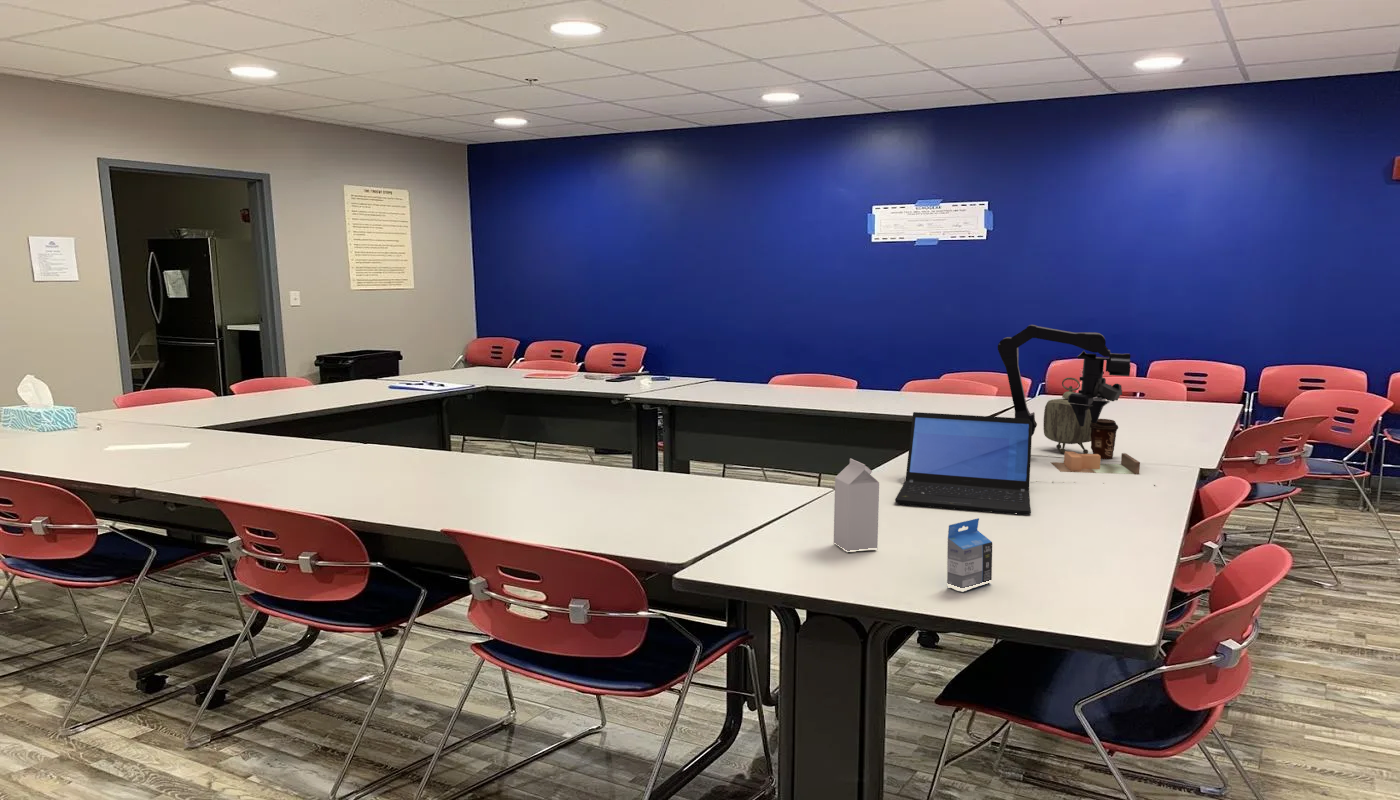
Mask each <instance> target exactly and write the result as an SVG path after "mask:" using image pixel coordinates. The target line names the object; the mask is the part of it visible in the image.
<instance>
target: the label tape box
mask: <svg viewBox="0 0 1400 800" xmlns="http://www.w3.org/2000/svg"><path fill="white" fill-rule="evenodd" d="M979 520H980V518H978V517H977V518H974V519H969V520H965V521H960V522H957V523H953V524H949V525H948V531H947V553H946V554H947V556H946V557H947V559H946V560H947V561H946V562H947V563H946V564H947V566H946V569H947V571H946V572H947V573H946V578H947V580H946V581H947V582H946V583H948V584H951V585H954V586H957V587H960V588H965V587H969V586H973V585H976V584H980V583H982V582H986V581H989V580H992V578H993V577H992V576H993V572H992V571H993V541H992V540H990V539H989V538H987V536H986V535H984V534H983V533H982V532H980V531H979V530H978V528H979ZM963 527H965V528H967V529H964V530H960V529H962V528H963ZM959 530H960V531H959ZM992 581H993V580H992Z"/></svg>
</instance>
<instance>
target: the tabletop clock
mask: <svg viewBox="0 0 1400 800" xmlns="http://www.w3.org/2000/svg"><path fill="white" fill-rule="evenodd" d="M1069 380H1071V381H1075V382H1076V383H1077V384H1078V385H1077V387H1076V388H1073V386H1072V385H1070V386H1069V387H1067V386H1065V385H1064V384H1065V382H1066V381H1069ZM1061 385H1062V388H1064V390H1066V391H1065V392H1064V393H1063V394H1062V396H1061V398H1056V399H1049V400H1047V402H1046V403H1045V406H1044V412H1043V435H1044V437H1045V438H1047V439H1048V440H1050V441H1052V442H1055V443H1058V444H1056V445H1055V447H1056V449H1058V450H1059V452H1060V454H1064V452H1065V451H1066V449H1065V447H1066V445H1075V444H1077V445H1079V446H1080V448H1081V449H1082V454H1089V450H1088V449H1086V448H1085V446H1084V445H1083V444H1086V443H1089V442H1090V443H1091V435H1090V434H1091V428H1090V424H1091V420H1092V419H1091V414H1090V409H1088V411H1087V415H1086V420H1085V424H1084V426H1080V425H1079V423H1078V420H1077V417H1076V415H1075V413H1074V411H1073V408H1072V406H1071V405H1070V403H1069V402H1068V396H1069V395H1070V394H1072V393H1076V392H1075V391H1079V390H1080V388H1081V384H1080V380H1078V379H1077V378H1074V377H1065V378H1064V379H1062V382H1061ZM1061 444H1062V445H1061Z"/></svg>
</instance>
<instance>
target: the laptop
mask: <svg viewBox="0 0 1400 800" xmlns="http://www.w3.org/2000/svg"><path fill="white" fill-rule="evenodd" d="M1032 436H1033V435H1032V422H1031V421H1030V420H1029V419H1024V418H1015V417H1006V416H1005V417H1004V416H989V415H973V414H955V413H954V414H951V413H935V412H918V411H915V412H913V413H912V419H911V427H910V437H909V447H908V455H907V465H906V472H905V473H906V474H905V481H904V482H903V484H902V486H901V488H900V490H899V492H898V493H897V496H896V497H895V499H894V501H895V504H898V505H900V504H904V505H903V506H909V505H917V506H916V507H926V506H931V507H930V508H936V507H942V508H941V509H947V508H955V509H954V510H959V509H967V510H966V511H970V510H979V511H978V512H982V511H992V512H991V513H994V512H1004V513H1003V514H1006V513H1017V514H1016V515H1018V514H1028V515H1031V513H1032V509H1031V498H1030V497H1031V495H1030V479H1031V478H1030V477H1031V457H1032V441H1033V440H1032V438H1033V437H1032Z"/></svg>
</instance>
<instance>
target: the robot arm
mask: <svg viewBox="0 0 1400 800" xmlns="http://www.w3.org/2000/svg"><path fill="white" fill-rule="evenodd" d="M1032 339H1038V340H1045V341H1050V342H1056V343H1062V344H1067V345H1072V346H1074V347H1077V348H1079V349H1083V350H1082V351H1081V353H1080V354H1079V355H1077V356H1076V357H1077V359H1078V360H1080V359H1082V360H1083V362H1082V363H1083V366H1082V376H1079V381H1081V385H1080V389H1078V390H1077V391H1078V392H1075V393H1072V394H1070V395H1069V396H1068V402H1069V403H1070V405H1071V406H1072V408H1073V411H1074V413H1075V415H1076V417H1077V420H1078V423H1079V425H1080V426H1084V424H1085V420H1086V415H1087V411H1088V409H1090V414H1091V419H1092V422H1093V423H1097V421H1098V419H1100V418H1099V417H1100V415H1101V413H1102V411H1103V409H1104V406H1106V405H1108V404H1110V403H1111V402H1115V401H1116V402H1117V401H1118V400H1119V398H1120V396H1122V395H1123V388H1122V384H1119V383H1114V384H1113V385H1112V384H1109V383H1106V380H1107V379H1106V378H1105V377H1104V366H1105V372H1106V373H1108V375H1109V376H1115V377H1116V376H1117V377H1130V373H1131V354H1130V353H1112V352H1111V349H1108V347H1107V345H1106V343H1107V341H1106V338H1105V336H1104V335H1103V334H1101V333H1100V332H1094V331H1093V332H1085V331H1084V332H1072V331H1069V330H1068V331H1067V330H1061V329H1056V328H1051V327H1046V326H1040V325H1039V326H1038V325H1036V324H1029V325H1027V327H1025V328H1024V329H1023V330H1021V331H1019V332H1018V333H1016V334H1015V335H1013V336H1012V337H1011V336H1007V337H1004V338H1002V339H1001V340H1000V341H999V342H998V344H997V352H998V354H999V356H1000V359H1001V360H1002V363H1003V365H1004V367H1005V371H1006V374H1007V381H1008V384H1009V391H1010V394H1011V399H1012V405H1013V408H1014V418H1024V419H1029V420H1030V421H1031V422H1032V436H1033V435H1034V433H1035V432H1036V428H1037V426H1038V423H1037V421H1036V419H1035V418H1036V416H1035V415H1036V414H1035V413H1036V412H1030V410H1029V408H1028V405H1027V401H1026V396H1025V390H1024V386H1023V381H1022V376H1021V372H1020V366H1019V348H1020V347H1021V346H1022V345H1024V344H1025V343H1027V342H1028V341H1031V340H1032ZM1086 351H1088V352H1091V353H1086ZM1097 353H1098V354H1099V355H1101V356H1103V357H1100V356H1097ZM1105 361H1106V362H1105ZM1104 363H1105V365H1104Z"/></svg>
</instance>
